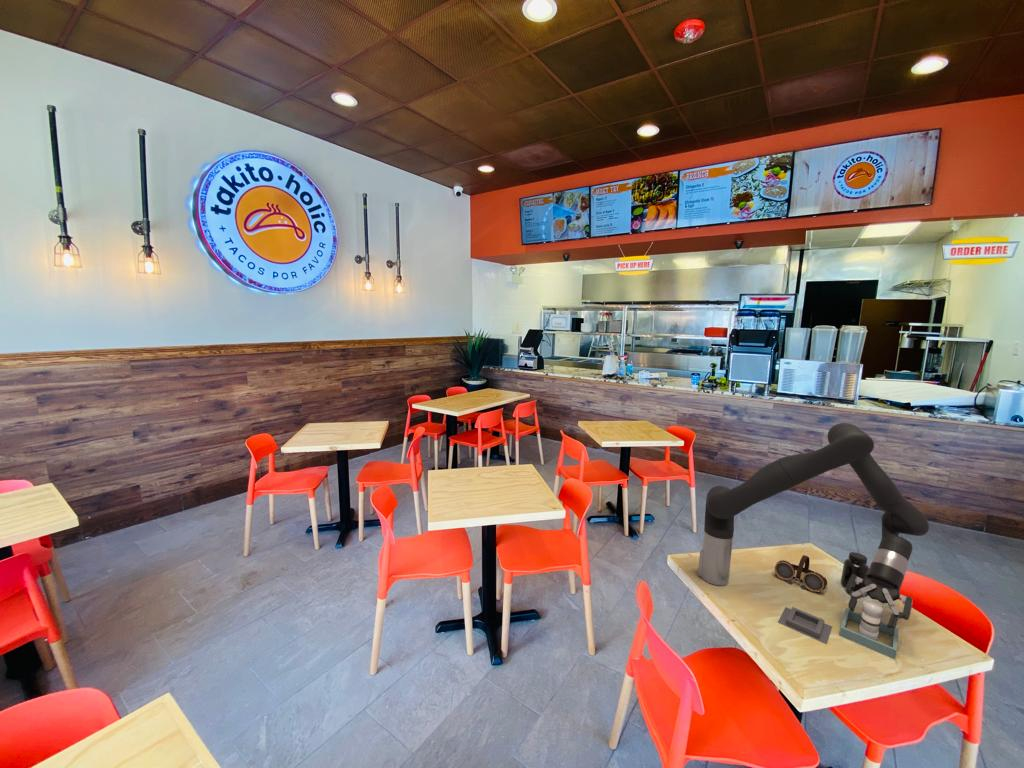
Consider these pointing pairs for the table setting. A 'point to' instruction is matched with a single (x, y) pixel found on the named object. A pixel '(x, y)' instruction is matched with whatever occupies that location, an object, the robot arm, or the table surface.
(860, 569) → the supplement bottle
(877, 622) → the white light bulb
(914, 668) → the table surface
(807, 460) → the robot arm
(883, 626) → the parts tray
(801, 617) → the grey recessed base plate
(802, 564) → the goggles
